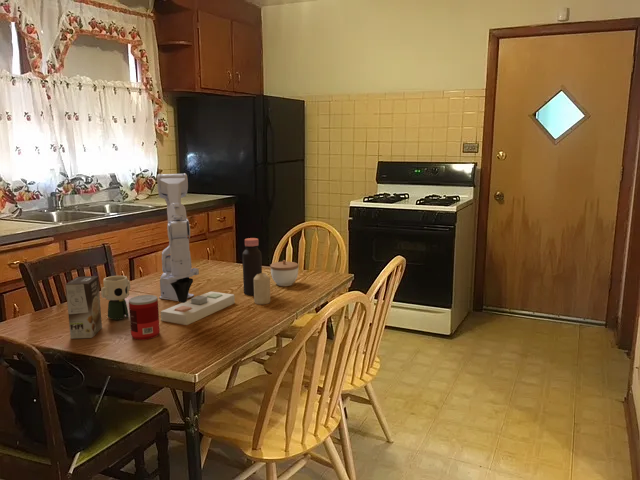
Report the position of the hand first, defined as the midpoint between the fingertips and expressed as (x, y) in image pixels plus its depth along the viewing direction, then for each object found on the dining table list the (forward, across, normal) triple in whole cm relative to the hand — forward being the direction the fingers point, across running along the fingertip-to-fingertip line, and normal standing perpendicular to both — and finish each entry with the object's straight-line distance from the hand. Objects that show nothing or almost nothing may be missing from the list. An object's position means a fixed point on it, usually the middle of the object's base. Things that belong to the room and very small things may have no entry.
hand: (182, 301), depth 174 cm
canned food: (+6, -17, 0) cm, 18 cm away
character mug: (+6, -9, +19) cm, 22 cm away
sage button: (+5, +16, 0) cm, 17 cm away
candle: (+6, +25, -13) cm, 29 cm away
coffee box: (+6, -23, +17) cm, 29 cm away
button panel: (+5, +8, 0) cm, 10 cm away
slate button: (+4, +8, 0) cm, 9 cm away
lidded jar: (+6, +49, -8) cm, 50 cm away
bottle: (+6, +33, -4) cm, 34 cm away
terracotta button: (+5, 0, 0) cm, 5 cm away
